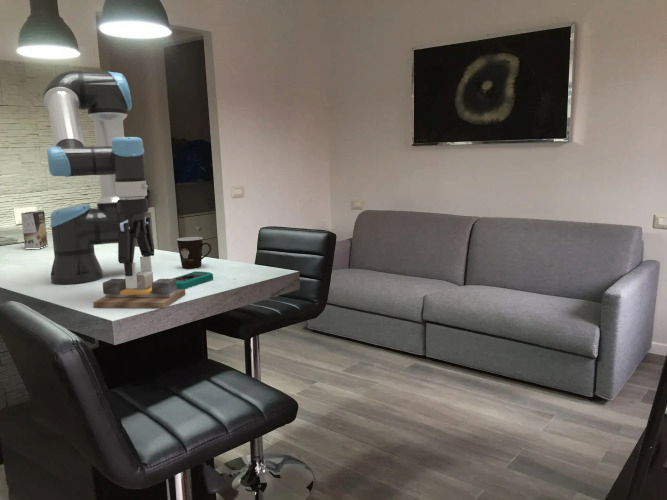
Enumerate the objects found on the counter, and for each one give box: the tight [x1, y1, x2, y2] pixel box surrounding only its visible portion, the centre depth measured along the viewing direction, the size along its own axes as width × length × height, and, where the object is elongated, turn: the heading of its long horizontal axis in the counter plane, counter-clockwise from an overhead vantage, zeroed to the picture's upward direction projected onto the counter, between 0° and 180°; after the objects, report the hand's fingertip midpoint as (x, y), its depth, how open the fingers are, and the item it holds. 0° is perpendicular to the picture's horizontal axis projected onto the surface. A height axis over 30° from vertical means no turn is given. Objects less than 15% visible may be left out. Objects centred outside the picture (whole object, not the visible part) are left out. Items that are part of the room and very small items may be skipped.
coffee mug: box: [176, 236, 212, 270], centre depth 190 cm, size 12×9×10 cm
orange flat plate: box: [120, 286, 152, 295], centre depth 147 cm, size 8×6×1 cm
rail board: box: [92, 278, 186, 309], centre depth 147 cm, size 19×14×6 cm
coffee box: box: [20, 210, 49, 249], centre depth 243 cm, size 9×6×16 cm
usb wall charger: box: [132, 270, 154, 290], centre depth 146 cm, size 4×7×4 cm, turn 171°
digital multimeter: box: [171, 270, 214, 290], centre depth 166 cm, size 7×15×3 cm, turn 153°
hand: (139, 283), depth 146 cm, fingers open, 8 cm apart
